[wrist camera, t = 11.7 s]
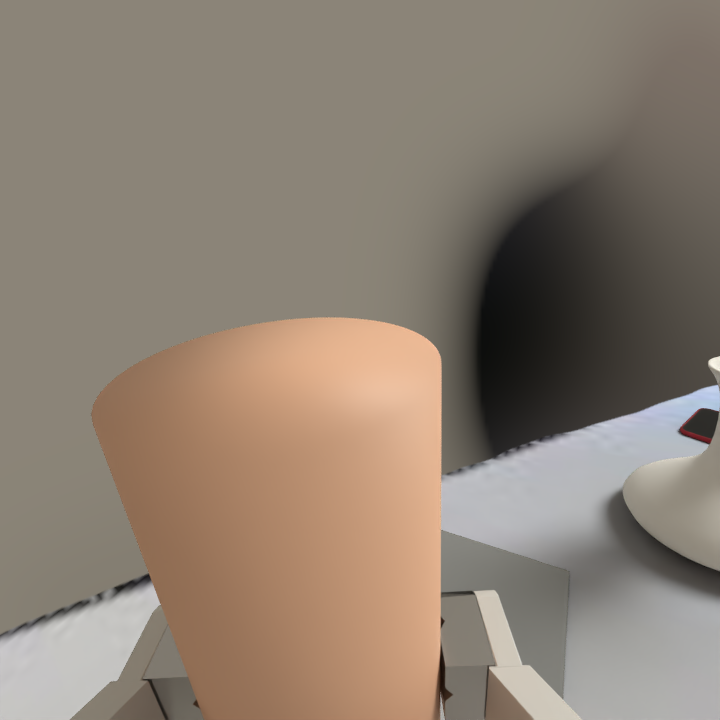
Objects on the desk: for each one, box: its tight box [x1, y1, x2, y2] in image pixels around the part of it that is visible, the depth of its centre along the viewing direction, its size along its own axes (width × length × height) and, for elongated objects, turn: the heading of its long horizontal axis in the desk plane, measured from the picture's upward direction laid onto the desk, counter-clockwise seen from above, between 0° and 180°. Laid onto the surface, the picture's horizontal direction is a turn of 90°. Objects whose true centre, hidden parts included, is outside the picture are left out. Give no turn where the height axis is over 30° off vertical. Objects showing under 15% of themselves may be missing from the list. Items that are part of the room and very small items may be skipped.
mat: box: [441, 530, 569, 699], centre depth 27 cm, size 10×10×1 cm
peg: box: [91, 318, 441, 720], centre depth 9 cm, size 5×5×16 cm
